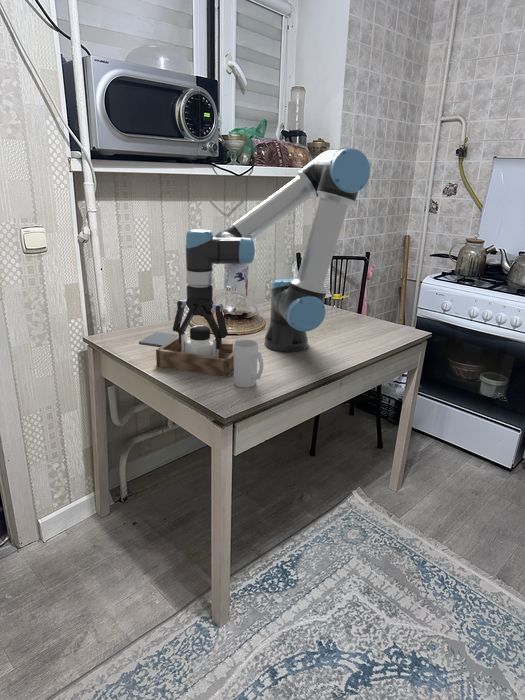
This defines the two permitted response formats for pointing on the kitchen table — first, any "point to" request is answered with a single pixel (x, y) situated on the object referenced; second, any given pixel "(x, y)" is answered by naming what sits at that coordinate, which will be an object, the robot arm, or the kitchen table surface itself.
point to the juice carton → (236, 277)
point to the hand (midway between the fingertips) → (200, 355)
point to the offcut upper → (226, 347)
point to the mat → (158, 339)
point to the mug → (246, 363)
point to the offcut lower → (224, 355)
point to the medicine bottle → (199, 341)
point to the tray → (192, 360)
